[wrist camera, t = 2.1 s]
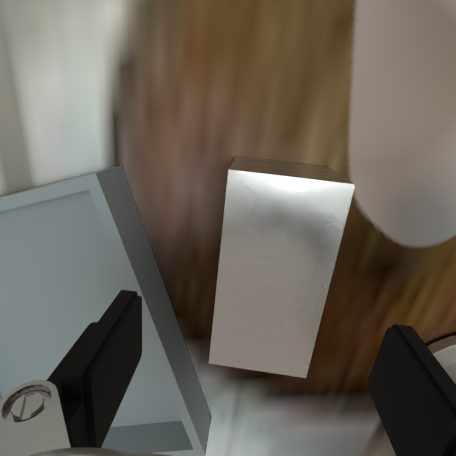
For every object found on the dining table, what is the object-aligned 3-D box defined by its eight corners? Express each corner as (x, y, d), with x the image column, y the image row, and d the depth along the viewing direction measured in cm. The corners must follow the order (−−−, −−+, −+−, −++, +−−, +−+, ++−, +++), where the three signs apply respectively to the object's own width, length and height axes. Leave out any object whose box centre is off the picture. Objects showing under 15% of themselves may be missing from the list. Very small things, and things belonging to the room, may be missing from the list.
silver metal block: (294, 317, 24) (306, 378, 18) (219, 306, 24) (208, 363, 18) (326, 165, 20) (354, 184, 14) (236, 155, 20) (228, 169, 14)
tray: (211, 416, 28) (205, 455, 25) (29, 433, 31) (3, 470, 28) (121, 164, 21) (95, 173, 17) (-104, 222, 24) (-162, 239, 21)
